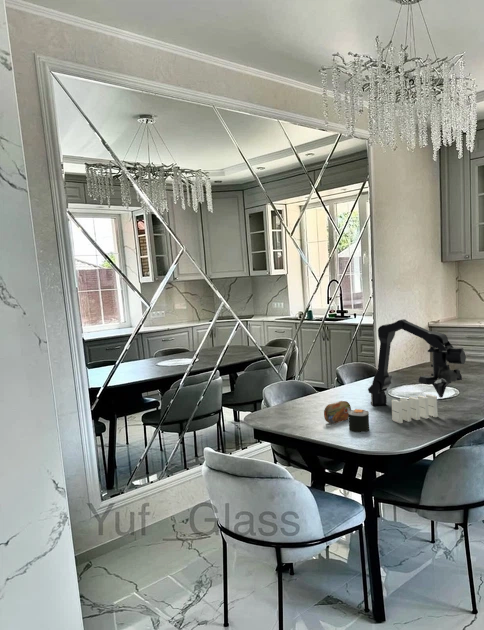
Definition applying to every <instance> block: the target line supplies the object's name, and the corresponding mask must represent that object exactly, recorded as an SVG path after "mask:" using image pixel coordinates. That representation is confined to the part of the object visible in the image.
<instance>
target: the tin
mask: <svg viewBox="0 0 484 630" xmlns="http://www.w3.org/2000/svg"><path fill="white" fill-rule="evenodd" d="M351 410H352V406H351V404H350V403H349V402H348V401H347V400H344V401H343V400H340V401H337V402H333V403H329V404H327V405H326V406H325V408H324V410H323V417H324V420H325V421H326V422H327V423H329V424H332V425H334V424H335V425H336V424H338V423H341V422H344V421H347V420H349V415H348V411H351Z"/></svg>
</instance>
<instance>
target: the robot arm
mask: <svg viewBox="0 0 484 630" xmlns="http://www.w3.org/2000/svg"><path fill="white" fill-rule="evenodd" d="M400 330H404V332H407V333H409V334H412V335H413V336H416V337H418V338H421V339H423V340H424V341H425V343H427V344H428V345H430V348H429V349H427V353H432V363H431V364H430V367H431V368H432V372H431V374H430V375H431V376H430V375H421V376H419V377H418V383H419V384H424V385H429V386H430V385H432V386H433V388H434V390H435V391H436V393H437V395H438V397H439V398H440V399H441V398H443V397H444V395H445V392H446V390H447V388H448V387H447V386H449V384H451V383H452V382H457V381H462V380H463V375H462V373H461V370H460V369H459V368H456V369H451V368H450V365H449V364H456V365H464V364H465V362H466V361H467V356H466V352H465V351H464V348H463V347H458V348H457V347H454V346H453V345H452V343H451V342H450V341H449V339H448V336H447V334H445V333H442V332H438V331H432V330H428V329H427V328H424V327H421V326H420V325H417V324H415V323H414V322H413V323H412V322H410V321H408V320H407V319H399V320H397V321H395V322H392V323H386V324H381V325H380V326H379V327H378V330H377V336H378V340H379V343H380V345H379V353H378V362H377V371H376V373H375V374H374V377H373V380H372V384H371V386H369V387H368V389H367V391H368V394H370V400H371V401H370V404H371V405H372V406H373V407H379V406H380V407H382V406H384V407H385V406H387V404H388V402H387V401H388V399H387V394H386V392H387V390H388V388H389V387H390V386H391V384H392V375H389V363H390V353H391V346H392V345H391V344H392V342H393V340H394V339H395V335H396V332H398V331H400ZM448 363H449V364H448Z"/></svg>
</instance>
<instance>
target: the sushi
mask: <svg viewBox="0 0 484 630" xmlns="http://www.w3.org/2000/svg"><path fill="white" fill-rule="evenodd" d="M348 415H349V418H348V429H349V431H350V432H355V433H367V432H369V431H370V421H369V420H370V419H369V415H370V413H369V411H368V410H366V409H360V408H359V409H357V408H356V409H351V411H348Z"/></svg>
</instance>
